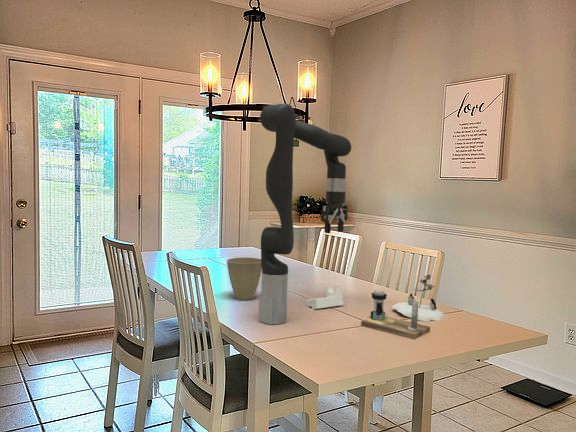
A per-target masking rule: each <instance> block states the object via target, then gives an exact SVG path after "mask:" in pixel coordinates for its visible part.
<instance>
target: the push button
mask: <svg viewBox="0 0 576 432" xmlns="http://www.w3.org/2000/svg"><path fill="white" fill-rule="evenodd" d="M387 297H388V294H387V293H386V292H385V290H380V289H379V290H378V289H377V290H373V292H372V293H371V299H373V310H372V311H370V316H371V319H373V320H382V319H385V317H389V316H387V315H388V313H386V311H384V304H385V303H384V301H385V300H386V299H387Z"/></svg>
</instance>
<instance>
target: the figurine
mask: <svg viewBox="0 0 576 432" xmlns="http://www.w3.org/2000/svg"><path fill="white" fill-rule="evenodd" d="M423 278H424V279H420V280H419V282H420V283H421V284H423V289H418V288H415V289H414V290H415V291H416V292H419V293H420V292H422V293H421V297H420V302H418V321H421V322H430V321H436V322H437V321H441V320H442V319H445V318H446V315H445V313H443V312H442V311H440V310H439V309H438V308H437V307H436V306H437V303H436V301H435V299H434V298H429V299H430V301H429V302H430V303H429V305H427V304H421V303H422V299H423V296H424V292H425V291H431V290H433V288H434V287H435V285H433V284H427V282H428V280H429V281H430V279H431V274H430V273H427V274H426V275H424V276H423ZM426 287H427V288H426ZM412 302H415V297H414V295H413V294H412V293H410V294H409V296H408V297H407V302H406V301H405V302H404V301H402V302H397V303H396V304H393V305H392V306H391V308H392V309H393V310H396V311H397V312H398V313H400V314H402V315H403V316H405V317H408V318H410V319H411V318H412Z"/></svg>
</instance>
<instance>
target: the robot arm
mask: <svg viewBox="0 0 576 432" xmlns="http://www.w3.org/2000/svg"><path fill="white" fill-rule="evenodd" d="M259 119H260V120H259V121H260V124H261V126H262V127H263V128H264V129H265V130H266V131H269V132H272V133H275V145H274V150H273V152H272V155H271V157H270V160H269V162H268V164H267V167H266V170H265V191H266V193H267V196H268V197H269V199H270V201H271V203H272V204H273V206H274V207H275V210H276V211H277V214H278V216H279V220H280V227H277V226H276V227H275V226H266V227H264V228H263V230H262V232H261V236H260V259H261V266H262V270H261V286H260V287H261V291H260V294H259V295H258V322H260V323H263V324H266V325H271V326H272V325H281V324H285V323H286V322H287V319H288V318H287V317H288V316H287V314H288V289H289V288H288V285H289V284H288V283H289V282H288V280H289V266H288V264H286V263H285V262H282V261H281V260H280V259H278V258H277V257H276V256H275V255H284V256H285V255H287V256H288V255H290V254H291V253H292V251H293V249H294V244H295V243H294V242H295V241H294V240H295V236H294V221H293V187H294V184H293V182H294V181H293V180H294V178H293V177H294V175H293V173H294V172H293V169H294V168H293V165H294V164H293V163H294V144H295V140H296V139H297V140H299V141H301V142H304V143H305V144H308V145H309V146H312V147H315V148H317V149H318V150H323V153H324V154H323V155H324V158H325V163H326V168H327V171H326V172H327V174H326V175H327V176H326V181H325V182H326V183H325V203H327V205H322V206H321V217H320V221H321V222H323V223H324V233H325V234H331V231H332V230H331V229H332V227H331V225H332V224H331V223H332V221H333V220H334V219H335V218H336V219H337V232H339V233H342V232H344V225H345V224H344V223H345V221H348V217H349V215H348V212H349V211H348V206H349V205H347V204H345V202H346V193H347V192H346V187H347V183H346V182H347V181H346V173H347V168H346V164H345V163H343V162H341V161H340V160H339V157H346V156H348V155H349V154H350V152H351V151H352V143H351V141H350V140H349V139H348V138H347V137H345V136H343V135H340V134H336V133H331V132H328V130H325V129H323V128H321V127H319V126H317V125H314V124H311V123H307V122H303V121H300V120H298V119H297V116H296V112H295V109H294V107H293V106H292V105H291V104H289V103H274V104H269V105H266V106H264V108H262V110H261V112H260V115H259ZM296 119H297V120H296Z"/></svg>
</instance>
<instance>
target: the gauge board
mask: <svg viewBox="0 0 576 432" xmlns="http://www.w3.org/2000/svg"><path fill="white" fill-rule="evenodd" d="M418 303H419V301H414V302H412V318H410V319H411V321H407V320H402V319H398V318H393V317H389V316H388V317H385V319H382V320H373V319H371V315H369V316H367V317H365V319H364V320H361V322H360V326H361V327H365V328H369V329H373V330H377V331H380V332H384V333H388V334H392V335H395V336H400V337H403V338H408V339H412V340H414V339H417V338H419V337H422V336H423V335H425V334H427V333H429V332H430V331H431V326H428V325H423V324H420V323H418V321H419V320H418Z"/></svg>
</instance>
